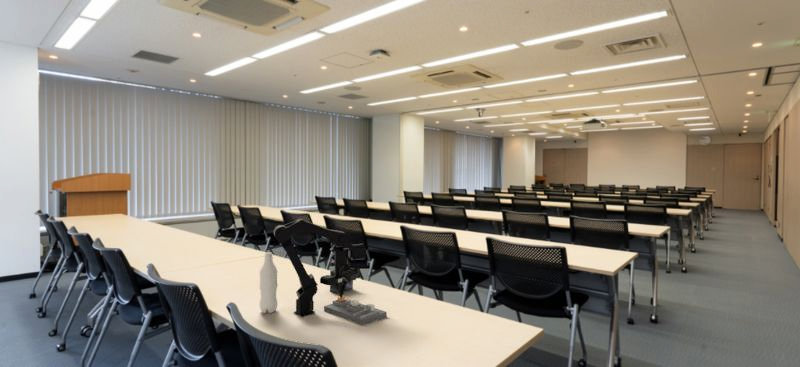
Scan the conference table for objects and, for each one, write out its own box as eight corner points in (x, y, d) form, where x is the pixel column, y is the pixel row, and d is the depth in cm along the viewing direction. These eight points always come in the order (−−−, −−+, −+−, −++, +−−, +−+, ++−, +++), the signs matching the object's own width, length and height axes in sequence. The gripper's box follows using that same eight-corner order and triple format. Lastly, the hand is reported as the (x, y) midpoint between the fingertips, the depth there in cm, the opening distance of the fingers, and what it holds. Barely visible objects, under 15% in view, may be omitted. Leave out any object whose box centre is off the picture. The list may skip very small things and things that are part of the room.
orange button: (340, 303, 171) (340, 298, 171) (335, 301, 174) (335, 296, 174) (346, 301, 174) (346, 296, 174) (341, 299, 176) (341, 295, 176)
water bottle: (271, 315, 166) (271, 255, 165) (256, 313, 167) (256, 254, 166) (280, 309, 173) (280, 251, 172) (265, 308, 174) (265, 250, 173)
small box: (338, 294, 195) (338, 272, 195) (329, 291, 199) (329, 270, 199) (353, 289, 203) (353, 268, 203) (344, 287, 207) (344, 266, 207)
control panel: (363, 325, 155) (363, 316, 155) (324, 310, 171) (324, 302, 171) (386, 316, 165) (386, 308, 165) (347, 303, 181) (347, 295, 181)
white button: (354, 307, 165) (354, 303, 165) (349, 306, 168) (349, 301, 168) (360, 305, 168) (360, 301, 168) (355, 304, 170) (355, 299, 170)
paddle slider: (371, 314, 162) (371, 306, 161) (365, 312, 163) (365, 304, 163) (374, 312, 163) (374, 305, 163) (369, 311, 165) (369, 303, 165)
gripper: (336, 267, 161) (336, 306, 161) (369, 260, 175) (369, 295, 175) (319, 263, 168) (319, 300, 169) (352, 256, 182) (352, 290, 183)
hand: (341, 296), depth 174 cm, fingers closed
